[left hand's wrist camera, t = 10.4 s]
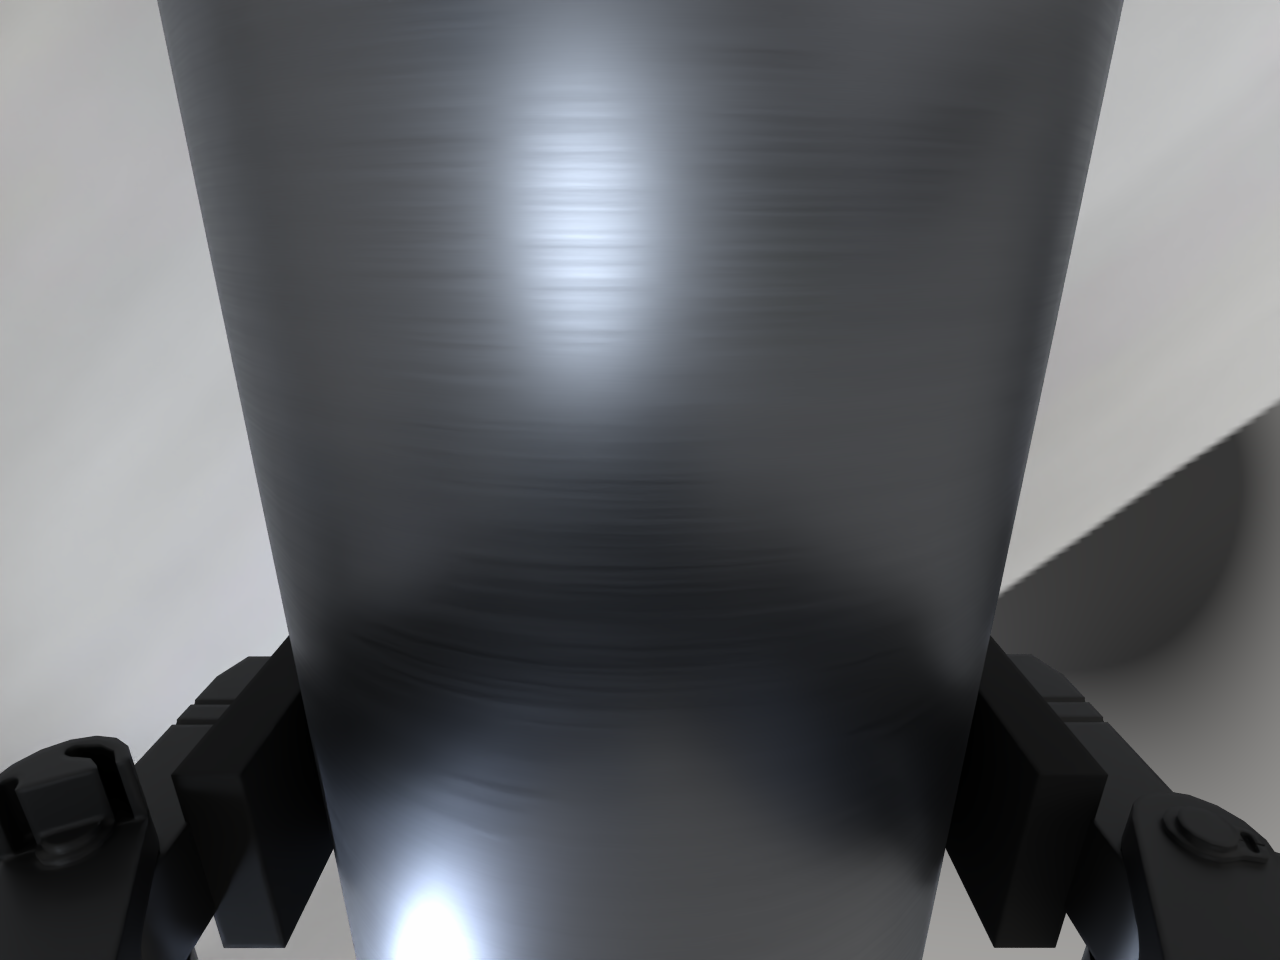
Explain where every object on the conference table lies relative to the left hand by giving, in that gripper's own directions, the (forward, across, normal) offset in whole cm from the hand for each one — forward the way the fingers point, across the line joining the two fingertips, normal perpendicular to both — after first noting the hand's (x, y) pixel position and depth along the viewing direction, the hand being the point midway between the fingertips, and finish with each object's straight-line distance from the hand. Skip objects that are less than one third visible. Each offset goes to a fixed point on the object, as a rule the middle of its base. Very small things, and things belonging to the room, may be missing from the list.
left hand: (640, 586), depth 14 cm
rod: (+1, 0, -10) cm, 10 cm away
